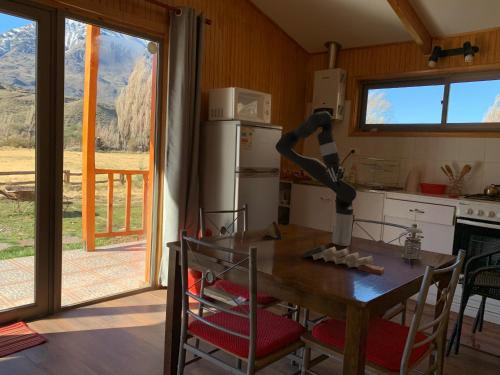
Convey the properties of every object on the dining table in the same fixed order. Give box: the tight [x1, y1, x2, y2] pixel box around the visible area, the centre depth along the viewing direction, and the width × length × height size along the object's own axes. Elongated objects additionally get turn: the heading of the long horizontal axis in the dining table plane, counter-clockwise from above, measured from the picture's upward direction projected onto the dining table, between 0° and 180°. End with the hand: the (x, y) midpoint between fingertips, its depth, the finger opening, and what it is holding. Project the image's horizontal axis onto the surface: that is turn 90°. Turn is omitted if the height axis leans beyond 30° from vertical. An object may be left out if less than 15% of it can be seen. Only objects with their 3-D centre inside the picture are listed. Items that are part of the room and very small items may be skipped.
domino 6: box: [357, 264, 385, 275], centre depth 174 cm, size 2×5×10 cm
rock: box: [266, 220, 284, 240], centre depth 228 cm, size 11×9×10 cm
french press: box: [398, 208, 423, 260], centre depth 201 cm, size 10×12×25 cm
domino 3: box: [323, 248, 349, 263], centre depth 183 cm, size 2×5×10 cm
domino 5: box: [346, 255, 375, 268], centre depth 175 cm, size 2×5×10 cm
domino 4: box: [333, 252, 361, 265], centre depth 180 cm, size 2×5×10 cm
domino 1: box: [301, 244, 327, 259], centre depth 187 cm, size 2×5×10 cm
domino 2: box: [311, 246, 338, 261], centre depth 185 cm, size 2×5×10 cm
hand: (339, 188), depth 188 cm, fingers closed
